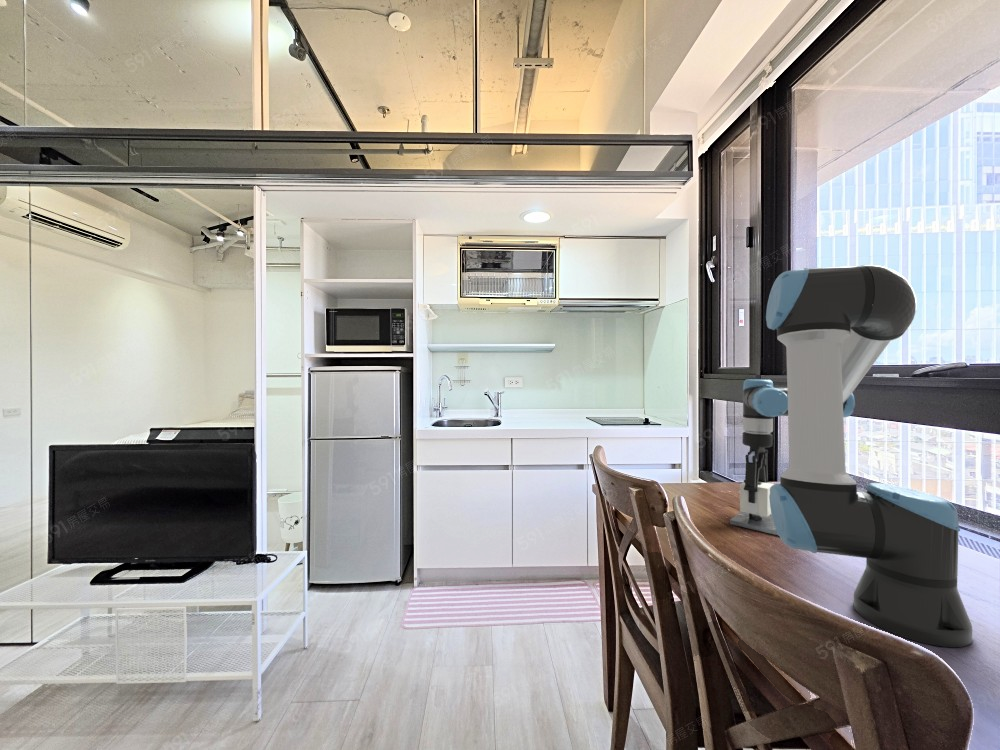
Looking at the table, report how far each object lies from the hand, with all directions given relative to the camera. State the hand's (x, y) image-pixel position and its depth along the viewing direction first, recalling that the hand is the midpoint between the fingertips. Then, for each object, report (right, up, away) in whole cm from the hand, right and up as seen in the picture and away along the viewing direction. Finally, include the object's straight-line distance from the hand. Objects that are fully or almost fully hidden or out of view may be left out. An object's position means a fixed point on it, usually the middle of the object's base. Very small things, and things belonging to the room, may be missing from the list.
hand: (756, 510), depth 124 cm
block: (0, 0, 0) cm, 0 cm away
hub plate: (+1, -4, -1) cm, 4 cm away
